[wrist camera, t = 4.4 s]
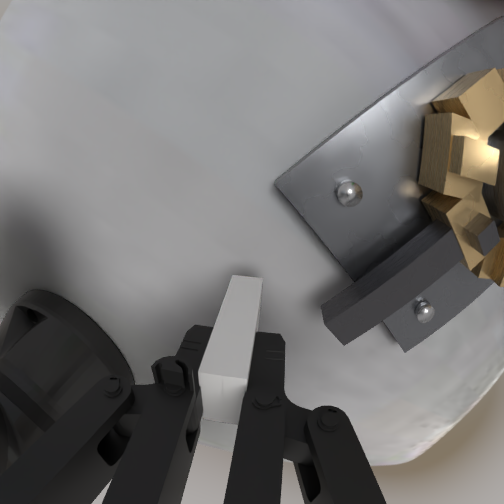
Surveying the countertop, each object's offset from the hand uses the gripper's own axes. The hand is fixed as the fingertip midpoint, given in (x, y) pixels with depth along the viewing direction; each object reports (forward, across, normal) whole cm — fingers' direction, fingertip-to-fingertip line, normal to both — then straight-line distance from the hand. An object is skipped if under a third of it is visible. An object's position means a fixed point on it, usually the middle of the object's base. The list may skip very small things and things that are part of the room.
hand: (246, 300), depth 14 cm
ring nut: (+1, +11, +6) cm, 12 cm away
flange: (+3, +14, +8) cm, 16 cm away
